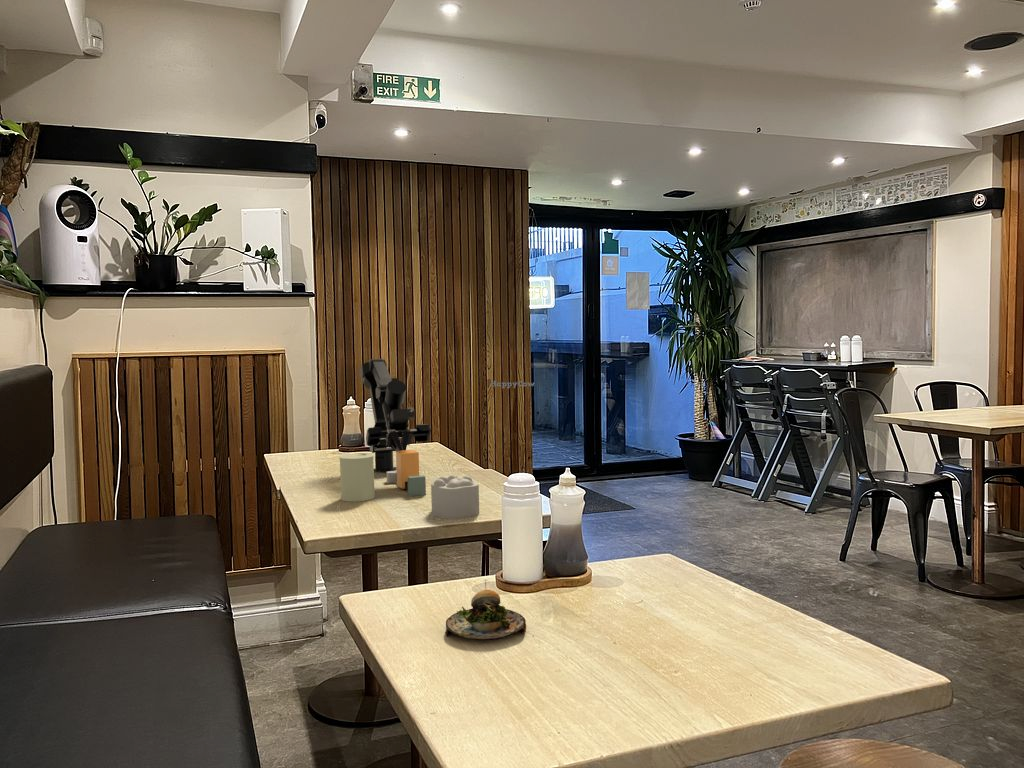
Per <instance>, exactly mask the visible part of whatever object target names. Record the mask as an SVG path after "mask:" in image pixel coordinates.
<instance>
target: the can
mask: <svg viewBox="0 0 1024 768" xmlns="http://www.w3.org/2000/svg"><path fill="white" fill-rule="evenodd" d="M374 458H375V454H373V453H362V452H359V453H348V454H342V455H340V456H339V458H338V459H339V469H340V470H339V471H340V473H339V475H340V500H341V501H343V502H349V503H350V502H351V503H352V502H354V503H357V502H367V501H371V500H374V499H375V498H376V493H375V474H374V473H375V471H374V469H375V467H374V466H375V459H374Z"/></svg>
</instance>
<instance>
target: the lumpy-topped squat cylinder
mask: <svg viewBox="0 0 1024 768" xmlns="http://www.w3.org/2000/svg"><path fill="white" fill-rule="evenodd" d="M479 489H480V486H479V483H478V482H476V481H473V478H472V477H471V476H469V475H465V476H463V477H462V478H461V477H458V476H456V475H455V474H451V475H449V476H448V477H446V476H444V475H442V476H439V478H438V479H436V480H434V481H432V482H431V484H430V490H431V491H430V495H431V514H432V515H434V516H436V517H439V518H443V519H447V520H448V519H454V520H455V519H460V518H466V517H473V516H474V517H475V516H478V515H480V493H479V492H480V490H479Z"/></svg>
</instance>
